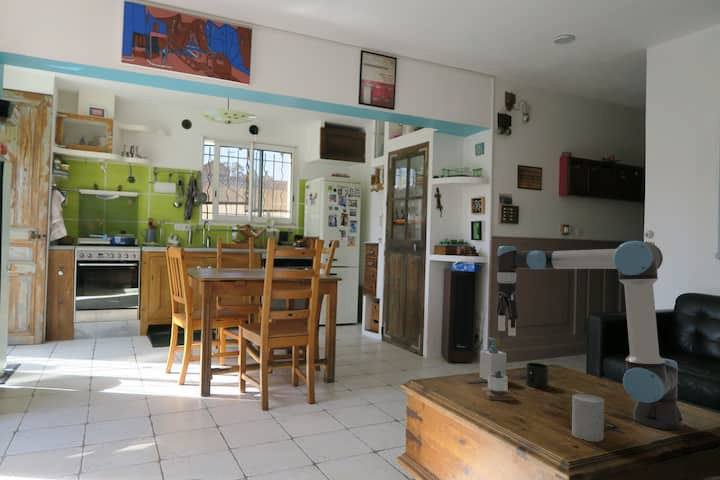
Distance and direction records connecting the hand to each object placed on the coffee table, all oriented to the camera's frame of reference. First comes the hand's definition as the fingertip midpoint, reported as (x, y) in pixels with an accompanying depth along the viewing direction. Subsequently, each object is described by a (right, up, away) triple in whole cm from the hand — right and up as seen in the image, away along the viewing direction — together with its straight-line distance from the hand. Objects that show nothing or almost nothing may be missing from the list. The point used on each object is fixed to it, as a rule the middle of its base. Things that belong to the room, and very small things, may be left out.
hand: (506, 333), depth 197 cm
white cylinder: (+13, -25, -44) cm, 52 cm away
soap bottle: (+1, -27, +24) cm, 36 cm away
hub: (-5, -23, -2) cm, 23 cm away
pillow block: (-5, -26, -2) cm, 26 cm away
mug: (+18, -27, +14) cm, 35 cm away
